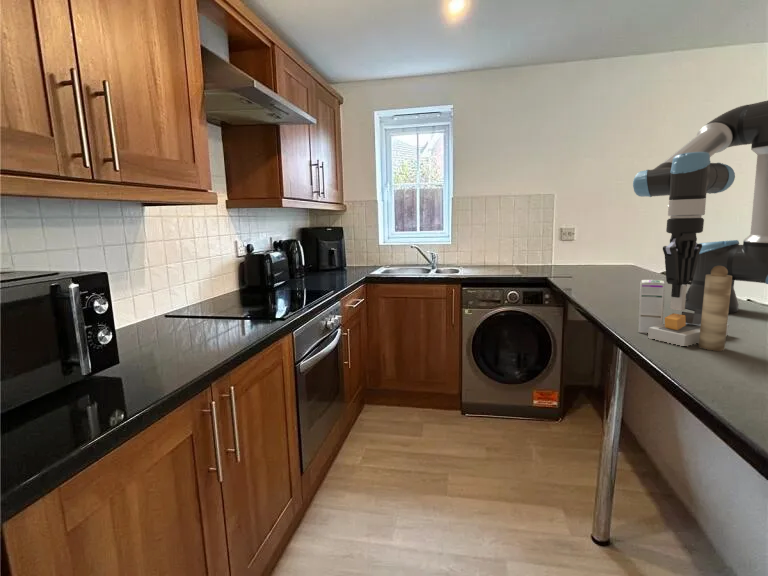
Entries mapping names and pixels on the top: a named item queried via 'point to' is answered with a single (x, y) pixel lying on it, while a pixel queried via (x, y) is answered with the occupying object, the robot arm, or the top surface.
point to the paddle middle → (692, 318)
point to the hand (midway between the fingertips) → (677, 309)
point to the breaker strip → (677, 334)
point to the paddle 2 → (698, 311)
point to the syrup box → (651, 304)
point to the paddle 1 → (675, 321)
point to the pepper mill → (715, 309)
